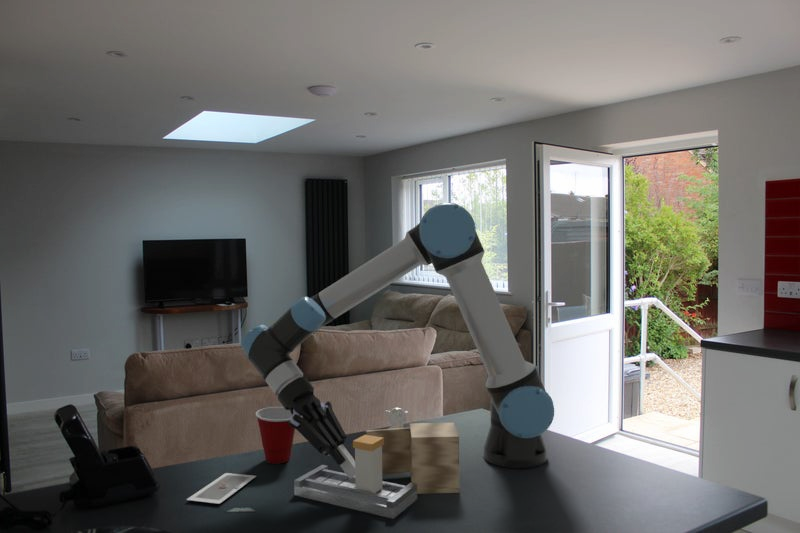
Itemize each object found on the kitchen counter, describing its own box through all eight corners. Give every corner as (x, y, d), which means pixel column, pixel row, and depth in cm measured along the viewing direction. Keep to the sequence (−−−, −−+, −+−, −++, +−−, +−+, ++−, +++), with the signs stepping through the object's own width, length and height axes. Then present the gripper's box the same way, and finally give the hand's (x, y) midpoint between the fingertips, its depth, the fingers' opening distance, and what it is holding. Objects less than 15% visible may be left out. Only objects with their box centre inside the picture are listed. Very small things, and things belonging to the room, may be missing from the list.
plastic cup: (291, 469, 141) (290, 418, 140) (248, 466, 143) (247, 416, 143) (307, 453, 152) (306, 406, 151) (267, 451, 154) (266, 404, 153)
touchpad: (186, 504, 123) (185, 494, 123) (226, 477, 138) (225, 468, 138) (219, 509, 121) (219, 498, 121) (256, 480, 136) (256, 471, 135)
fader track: (294, 495, 126) (294, 480, 126) (322, 478, 135) (322, 464, 135) (393, 518, 115) (393, 502, 114) (417, 499, 123) (417, 483, 123)
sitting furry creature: (381, 464, 144) (380, 414, 143) (374, 452, 152) (373, 405, 152) (419, 460, 146) (418, 411, 145) (410, 448, 154) (409, 402, 154)
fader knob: (353, 491, 122) (352, 440, 122) (365, 483, 126) (364, 434, 126) (372, 495, 120) (372, 444, 119) (384, 487, 124) (383, 437, 124)
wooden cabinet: (454, 474, 137) (453, 422, 136) (459, 492, 126) (459, 436, 126) (367, 475, 136) (366, 423, 136) (365, 494, 126) (364, 438, 125)
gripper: (299, 390, 139) (361, 473, 131) (261, 403, 127) (326, 495, 120) (317, 369, 136) (382, 453, 129) (280, 381, 125) (348, 474, 117)
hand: (355, 473), depth 124 cm, fingers closed
